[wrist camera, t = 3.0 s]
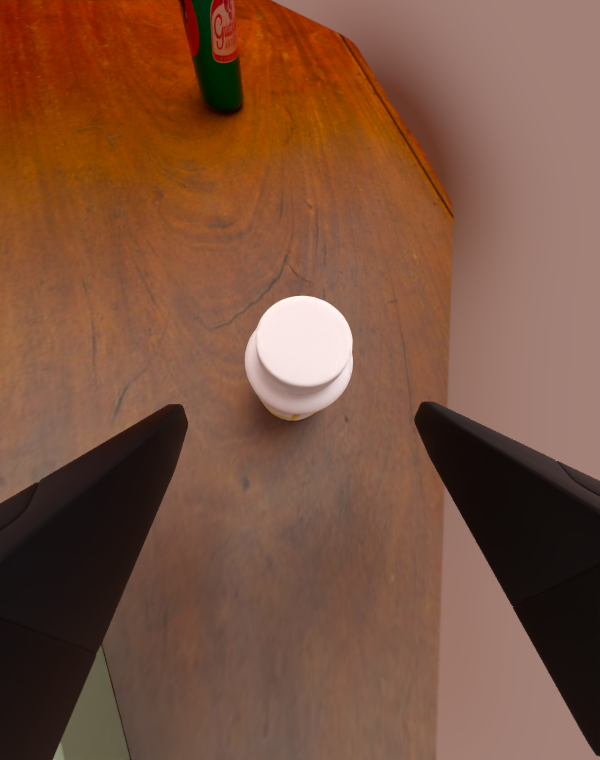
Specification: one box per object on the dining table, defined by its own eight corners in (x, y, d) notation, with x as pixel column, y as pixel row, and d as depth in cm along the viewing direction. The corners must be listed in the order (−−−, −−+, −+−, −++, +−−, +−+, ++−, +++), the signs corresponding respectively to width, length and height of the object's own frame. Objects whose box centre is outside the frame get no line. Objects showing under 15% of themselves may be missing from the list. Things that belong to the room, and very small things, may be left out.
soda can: (231, 121, 25) (190, -142, 14) (194, 105, 25) (121, -171, 14) (251, 99, 27) (229, -160, 15) (215, 83, 27) (165, -187, 15)
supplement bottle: (320, 356, 19) (363, 277, 9) (326, 418, 18) (384, 403, 8) (258, 359, 19) (233, 277, 9) (260, 423, 17) (233, 413, 7)
